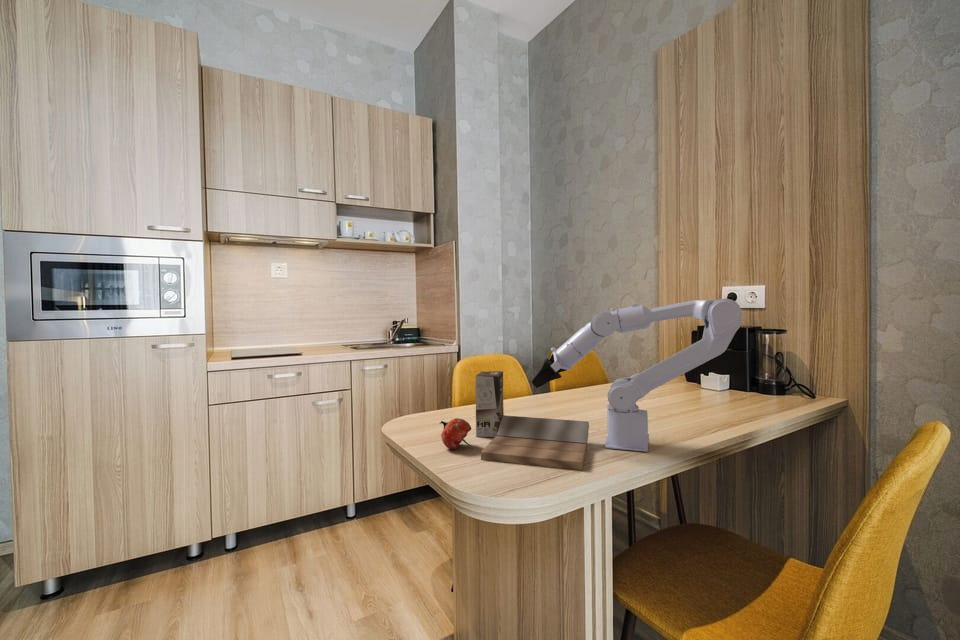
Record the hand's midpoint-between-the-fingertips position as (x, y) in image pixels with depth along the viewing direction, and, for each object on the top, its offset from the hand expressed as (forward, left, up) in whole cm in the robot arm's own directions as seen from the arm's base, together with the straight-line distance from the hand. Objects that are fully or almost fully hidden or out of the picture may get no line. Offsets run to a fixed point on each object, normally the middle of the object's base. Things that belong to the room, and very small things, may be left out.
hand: (537, 381), depth 110 cm
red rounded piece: (+17, +14, -15) cm, 26 cm away
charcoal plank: (-2, +4, -12) cm, 13 cm away
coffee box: (+13, 0, -15) cm, 20 cm away
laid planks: (-2, +14, -14) cm, 20 cm away
